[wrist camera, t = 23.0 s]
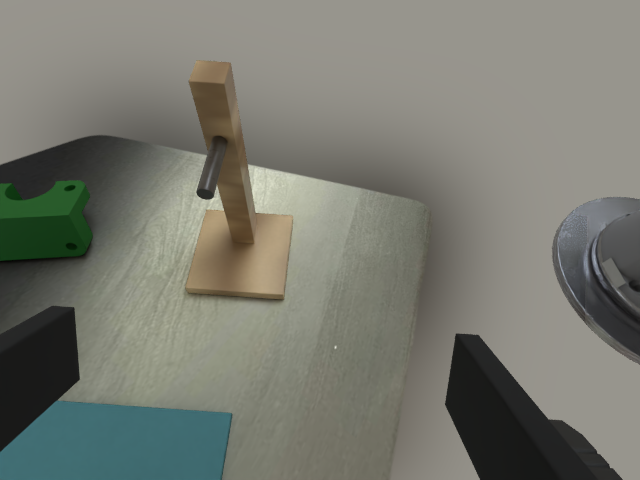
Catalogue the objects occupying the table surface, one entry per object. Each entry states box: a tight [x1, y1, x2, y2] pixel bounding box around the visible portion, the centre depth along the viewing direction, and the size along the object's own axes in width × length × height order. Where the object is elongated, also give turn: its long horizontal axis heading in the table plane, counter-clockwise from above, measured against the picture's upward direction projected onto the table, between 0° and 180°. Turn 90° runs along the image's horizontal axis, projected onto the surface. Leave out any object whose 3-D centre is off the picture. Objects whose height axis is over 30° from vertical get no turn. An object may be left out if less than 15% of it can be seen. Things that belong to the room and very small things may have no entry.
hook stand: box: [185, 60, 293, 299], centre depth 34 cm, size 10×10×21 cm
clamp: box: [0, 181, 93, 261], centre depth 42 cm, size 12×6×9 cm, turn 90°
